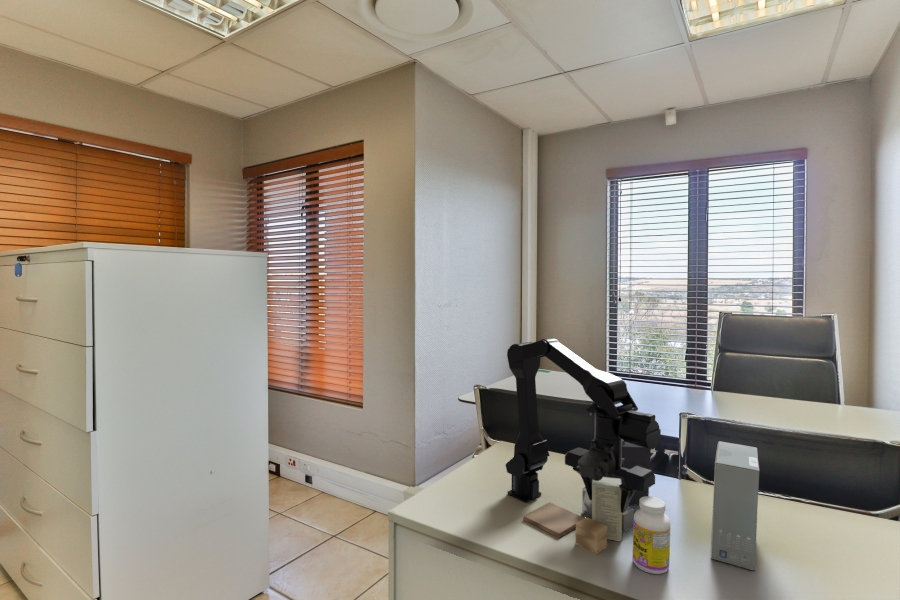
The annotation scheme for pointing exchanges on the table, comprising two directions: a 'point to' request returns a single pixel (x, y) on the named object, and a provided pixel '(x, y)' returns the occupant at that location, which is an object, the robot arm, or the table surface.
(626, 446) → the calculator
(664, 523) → the supplement bottle
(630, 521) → the gray cube
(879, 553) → the table surface
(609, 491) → the skincare box
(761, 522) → the table surface
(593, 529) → the oak block
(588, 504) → the metal canister
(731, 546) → the hard drive box
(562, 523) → the walnut board
